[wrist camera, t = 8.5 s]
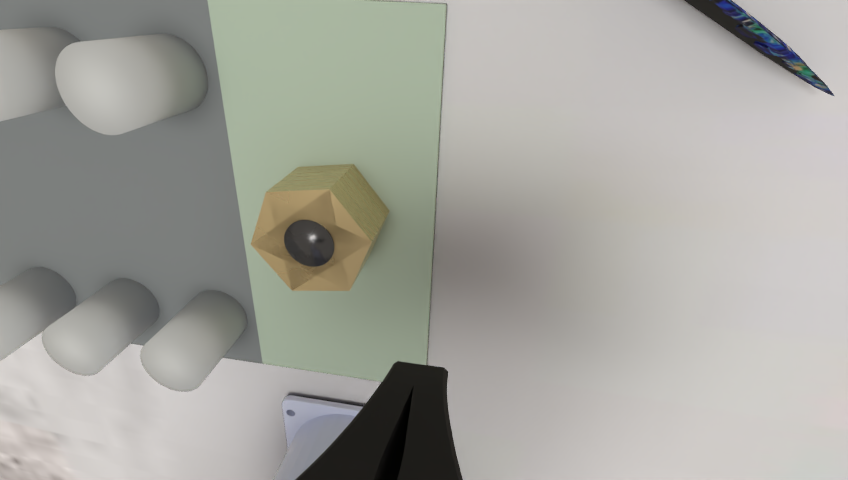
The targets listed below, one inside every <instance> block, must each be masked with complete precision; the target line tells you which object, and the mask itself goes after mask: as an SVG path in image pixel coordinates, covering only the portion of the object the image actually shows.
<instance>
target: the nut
mask: <svg viewBox="0 0 848 480" xmlns="http://www.w3.org/2000/svg"><path fill="white" fill-rule="evenodd" d="M389 211H390V210H389V209H388V208H387V207H386V205H385V204H384V203H383V201H382V200H381V199H380V197H379V196H378V195H377V193H376V192H375V191H374V190H373V188H372V187H371V186H370V184H369V183H368V182H367V180H366V179H365V178H364V177H363V175H362V174H361V173H360V171H359V170H358V169H357V167H356V166H355V165H354V164H342V165H322V166H303V167H297V168H296V169H295V170H293V171H292V172H291V173H289V174H288V175H287V176H286V177H284V178H283V179H282V180H280V181H279V182H278V183H277V184H275V185H274V186H273V187H272V188H270V189H269V190H268V191H266V193H265V197H264V200H263V203H262V207H261V210H260V214H259V217H258V221H257V224H256V227H255V231H254V234H253V238H252V241H251V246H252V247H253V248H254V249H255V250H256V251H257V252H258V253H259V254H260V256H261V257H262V258H263V259H264V260H265V261H266V262H267V263H268V265H269V266H270V267H271V268H272V269H273V270H274V271H275V272H276V273H277V275H278V276H279V277H280V278H281V279H282V280H283V281H284V282H285V284H286V285H287V286H288V287H289V288H290V289H291V290H292V291H350V290H351V288H352V286H353V284H354V283H355V281H356V279H357V277H358V275H359V274H360V272H361V270H362V268H363V266H364V265H365V263H366V261H367V259H368V257H369V256H370V253H371V251H372V249H373V247H374V245H375V242H376V240H377V238H378V236H379V233H380V231H381V229H382V227H383V225H384V222H385V220H386V218H387V216H388V214H389Z"/></svg>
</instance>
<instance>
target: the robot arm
mask: <svg viewBox="0 0 848 480" xmlns="http://www.w3.org/2000/svg"><path fill="white" fill-rule="evenodd" d="M447 378H448V371H447V370H446V369H445V368H442V367H435V366H428V365H422V364H415V363H408V362H401V361H397V362H395V363H394V364H393V365H392V367H391V369H390V370H389V372H388V374H387V375H386V377H385V378H384V380H383V381H382V383H381V384H380V385H379V387H378V388H377V390H376V391H375V392H374V394H373V395H372V396H371V398H370V399H369V400H368V402H367V403H366V404H365V405H364V407H361V406H355V405H349V404H343V403H336V402H330V401H324V400H318V399H311V398H305V397H299V396H293V395H288V396H286V397H285V398H284V400H283V401H282V410H283V417H284V425H285V432H286V439H287V447H288V451H287V453H286V455H285V457H284V459H283V461H282V463H281V465H280V467H279V469H278V471H277V473H276V475H275V477H274V479H273V480H463V479H462V476H461V472H460V468H459V464H458V460H457V456H456V452H455V447H454V442H453V437H452V431H451V426H450V420H449V413H448V403H447ZM292 410H293V411H292Z"/></svg>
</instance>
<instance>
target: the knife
mask: <svg viewBox="0 0 848 480" xmlns="http://www.w3.org/2000/svg"><path fill="white" fill-rule="evenodd" d="M685 1H687V2H688V3H689V4H691V5H692V6H694V7H695V8H697V9H698V10H700V11H701V12H703V13H704V14H705V15H707V16H708V17H710V18H711V19H713V20H714V21H716V22H717V23H718V24H720V25H721V26H723V27H724V28H726V29H727V30H729V31H730V32H731V33H733V34H734V35H736V36H737V37H739V38H740V39H741V40H743V41H744V42H746V43H747V44H749V45H750V46H752V47H753V48H754V49H756V50H757V51H759V52H760V53H762V54H763V55H764V56H766V57H768V58H769V59H771V60H772V61H774V62H776V63H777V64H779V65H780V66H782V67H783V68H785V69H787V70H788V71H790V72H791V73H793V74H794V75H796V76H798V77H799V78H801V79H802V80H804V81H806V82H807V83H809V84H811V85H812V86H814V87H816V88H818V89H820V90H822V91H824V92H826V93H828V94H830V95H833V93H832V92H831V91H830V90H829V88H828V87H827V85H826V84H825V83H824V82H823V81H822V80H821V79H820V78H819V77H818V76H817V75H816V74H815V73H814V72H813V71H812V70H811V69H810V68H809V67H808V66H807V65H806V63H805V62H804V61H803V60H802V59H801V58H800V57H799V56H798V55H797V54H796V53H795V52H794V51H793V50H792V49H791V48H790V47H789V46H788V45H786V44H785V43H784V42H783V41H782V40H781V39H779V38H778V37H777V36H776V35H775V34H773V33H772V32H771V31H770V30H768V29H767V28H766V27H765V26H763V25H762V24H761V23H760V22H759V21H757V20H756V19H755V18H754V17H752V16H751V15H750V14H748V13H747V12H746V11H745V10H743V9H742V8H741V7H739V6H738V5H737V4H735V3H734V2H733V1H732V0H685ZM833 96H834V95H833Z"/></svg>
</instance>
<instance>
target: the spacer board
mask: <svg viewBox="0 0 848 480" xmlns="http://www.w3.org/2000/svg"><path fill="white" fill-rule="evenodd" d="M446 10H447V4H435V3H414V2H393V1H372V0H0V360H2V359H4V358H6V357H7V356H8V355H10V354H11V353H13V352H14V351H16V350H17V349H18V348H20V347H21V346H23V345H24V344H25V343H27V342H28V341H30V340H31V339H32V338H34V337H35V336H37V335H38V334H40V333H41V332H42V331H43V333H42V342H43V345H44V348H45V350H46V351H47V353H48V354H49V356H50V357H51V358H52V359H53V360H54V361H55V362H56V363H57V364H59V365H60V366H61V367H63V368H64V369H66V370H68V371H70V372H72V373H75V374H78V375H84V376H90V375H95V374H97V373H98V372H99V371H101V370H102V369H103V368H104V367H105V366H106V365H107V364H108V363H109V362H111V361H112V360H113V359H114V358H115V357H116V356H117V355H118V354H119V353H120V352H122V351H123V350H124V349H125V348H126V347H127V346H128V345H129V344H130V343H131V344H137V345H144V346H143V347H142V349H141V353H140V358H141V362H142V365H143V367H144V369H145V370H146V372H147V373H148V374H149V375H150V376H151V377H152V378H153V379H154V380H155V381H157V382H158V383H159V384H161V385H163V386H165V387H167V388H169V389H172V390H175V391H181V392H187V391H192V390H195V389H196V388H198V387H199V386H200V385H201V383H202V382H203V381H204V380H205V379H206V377H207V376H208V375H209V374H210V372H211V371H212V370H213V369H214V367H215V366H216V365H217V364H218V362H219V361H220V360H221V359H222V358H229V359H235V360H242V361H249V362H255V363H262V364H268V365H275V366H281V367H288V368H294V369H301V370H308V371H314V372H321V373H327V374H334V375H340V376H347V377H353V378H360V379H367V380H373V381H380V382H382V381H383V380H384V378H385V377H386V375H387V374H388V372H389V370H390V369H391V367H392V365H393V364H394V363H395V362H397V361H401V362H408V363H415V364H422V365H427V350H428V332H429V314H430V296H431V279H432V261H433V243H434V225H435V207H436V189H437V171H438V153H439V135H440V117H441V99H442V81H443V63H444V45H445V28H446ZM342 164H354V165H355V166H356V167H357V169H358V170H359V171H360V173H361V174H362V175H363V177H364V178H365V179H366V180H367V182H368V183H369V184H370V186H371V187H372V188H373V190H374V191H375V192H376V193H377V195H378V196H379V197H380V199H381V200H382V201H383V203H384V204H385V205H386V207H387V208H388V209H389V210H390V211H389V214H388V216H387V218H386V220H385V222H384V225H383V227H382V229H381V231H380V233H379V236H378V238H377V240H376V242H375V245H374V247H373V249H372V251H371V253H370V256H369V257H368V259H367V261H366V263H365V265H364V266H363V268H362V270H361V272H360V274H359V275H358V277H357V279H356V281H355V283H354V284H353V286H352V288H351V290H350V291H292V290H291V289H290V288H289V287H288V286H287V285H286V284H285V282H284V281H283V280H282V279H281V278H280V277H279V276H278V275H277V273H276V272H275V271H274V270H273V269H272V268H271V267H270V266H269V265H268V263H267V262H266V261H265V260H264V259H263V258H262V257H261V256H260V254H259V253H258V252H257V251H256V250H255V249H254V248H253V247H252V246H251V241H252V238H253V234H254V231H255V227H256V224H257V221H258V217H259V214H260V210H261V207H262V203H263V200H264V197H265V193H266V191H268V190H269V189H270V188H272V187H273V186H274V185H275V184H277V183H278V182H279V181H280V180H282V179H283V178H284V177H286V176H287V175H288V174H289V173H291V172H292V171H293V170H295V169H296V168H297V167H303V166H322V165H342Z"/></svg>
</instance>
